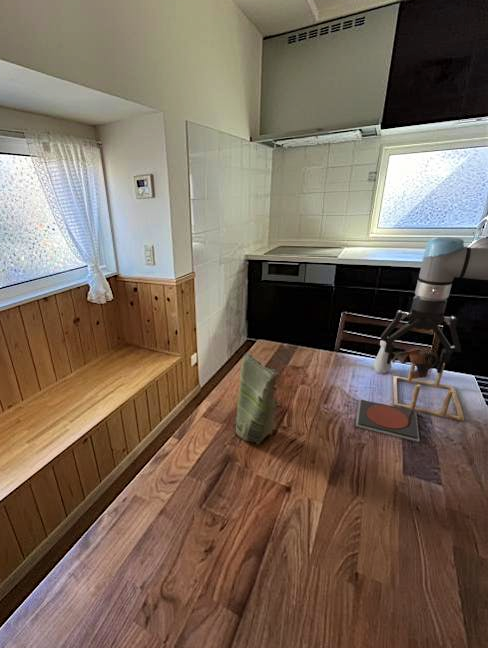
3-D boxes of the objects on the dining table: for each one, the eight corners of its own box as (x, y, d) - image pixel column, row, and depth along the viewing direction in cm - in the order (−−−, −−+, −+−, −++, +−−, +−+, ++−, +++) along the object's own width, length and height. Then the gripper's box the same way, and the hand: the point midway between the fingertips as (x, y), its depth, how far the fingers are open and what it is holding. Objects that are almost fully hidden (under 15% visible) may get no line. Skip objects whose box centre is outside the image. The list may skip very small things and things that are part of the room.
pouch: (239, 418, 107) (239, 348, 97) (277, 424, 103) (282, 352, 93) (231, 441, 98) (231, 367, 87) (273, 449, 94) (278, 372, 83)
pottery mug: (402, 382, 96) (394, 354, 97) (391, 379, 105) (383, 353, 106) (449, 373, 93) (440, 344, 94) (433, 371, 102) (426, 344, 103)
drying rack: (453, 388, 115) (461, 365, 111) (463, 421, 100) (472, 396, 96) (393, 377, 123) (398, 355, 119) (393, 406, 108) (399, 382, 104)
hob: (416, 413, 104) (417, 410, 103) (419, 442, 93) (420, 438, 92) (358, 401, 111) (359, 397, 111) (355, 426, 100) (356, 423, 100)
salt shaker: (393, 371, 126) (400, 340, 121) (383, 376, 124) (390, 345, 119) (378, 365, 131) (384, 335, 126) (369, 370, 129) (375, 339, 123)
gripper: (379, 296, 94) (366, 363, 103) (491, 307, 82) (465, 381, 91) (380, 288, 99) (368, 353, 108) (485, 297, 88) (461, 369, 97)
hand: (412, 366), depth 100 cm, fingers closed on pottery mug, 12 cm apart
